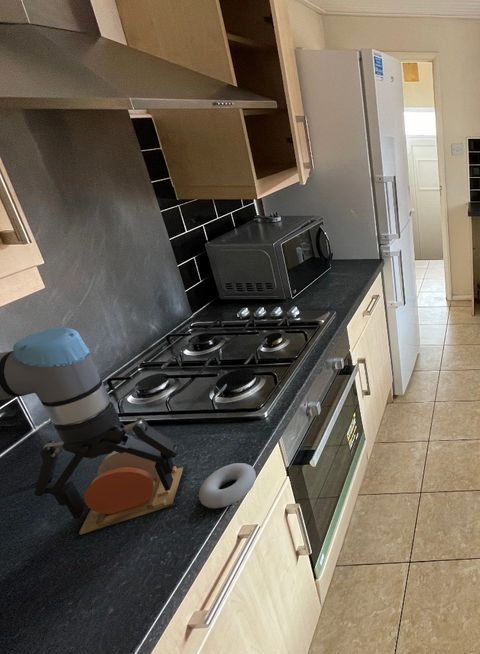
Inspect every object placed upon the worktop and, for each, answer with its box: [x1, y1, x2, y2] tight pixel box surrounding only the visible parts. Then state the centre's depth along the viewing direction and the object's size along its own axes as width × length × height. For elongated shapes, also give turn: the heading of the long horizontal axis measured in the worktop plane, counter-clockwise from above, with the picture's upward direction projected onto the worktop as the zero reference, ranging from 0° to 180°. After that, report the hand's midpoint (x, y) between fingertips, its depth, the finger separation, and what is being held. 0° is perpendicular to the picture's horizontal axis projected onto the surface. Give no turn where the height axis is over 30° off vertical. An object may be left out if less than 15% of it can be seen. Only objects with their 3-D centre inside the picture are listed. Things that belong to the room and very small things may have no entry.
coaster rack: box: [78, 465, 184, 536], centre depth 84 cm, size 14×10×2 cm
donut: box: [198, 462, 257, 509], centre depth 86 cm, size 10×4×10 cm
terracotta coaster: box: [83, 467, 155, 514], centre depth 80 cm, size 10×1×10 cm, turn 116°
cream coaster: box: [96, 451, 158, 480], centre depth 85 cm, size 10×1×10 cm, turn 116°
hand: (126, 498), depth 81 cm, fingers open, 13 cm apart
